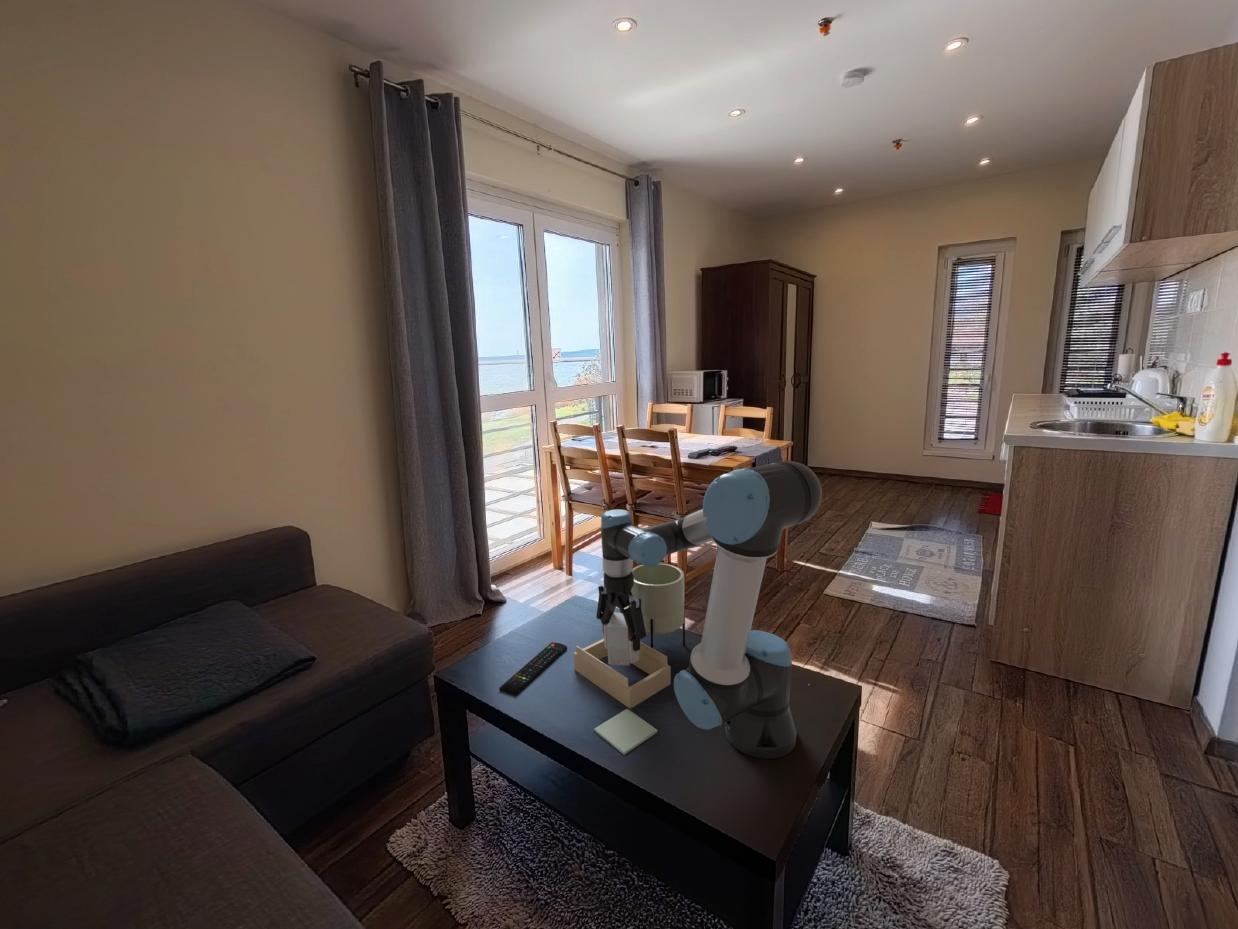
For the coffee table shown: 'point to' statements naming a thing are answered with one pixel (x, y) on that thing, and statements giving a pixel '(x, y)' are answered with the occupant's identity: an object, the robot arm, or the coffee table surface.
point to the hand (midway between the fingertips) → (621, 653)
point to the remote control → (533, 669)
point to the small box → (618, 640)
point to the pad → (625, 731)
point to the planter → (660, 598)
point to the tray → (617, 683)
